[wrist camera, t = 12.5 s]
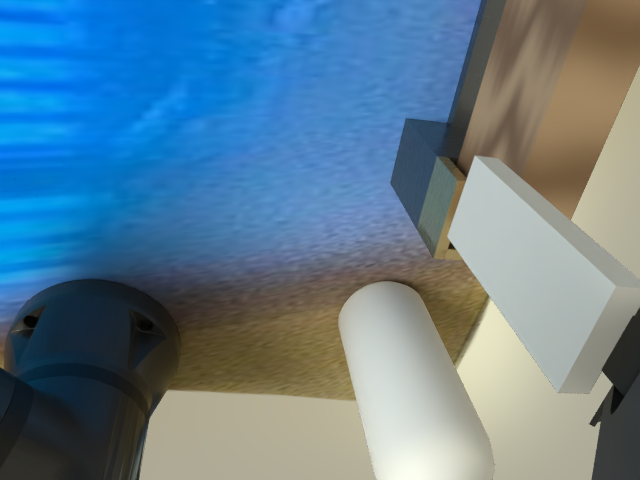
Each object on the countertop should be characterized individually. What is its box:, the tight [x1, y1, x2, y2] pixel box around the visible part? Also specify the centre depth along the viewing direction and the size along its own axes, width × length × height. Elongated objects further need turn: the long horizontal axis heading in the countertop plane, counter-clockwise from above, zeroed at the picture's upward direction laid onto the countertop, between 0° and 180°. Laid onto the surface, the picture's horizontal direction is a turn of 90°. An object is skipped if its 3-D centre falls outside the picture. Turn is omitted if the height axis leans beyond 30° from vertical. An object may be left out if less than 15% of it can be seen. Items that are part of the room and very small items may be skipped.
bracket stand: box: [391, 0, 506, 260], centre depth 34 cm, size 33×8×12 cm, turn 171°
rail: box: [456, 0, 640, 220], centre depth 29 cm, size 28×4×8 cm, turn 171°
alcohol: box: [338, 281, 495, 480], centre depth 41 cm, size 9×9×30 cm
